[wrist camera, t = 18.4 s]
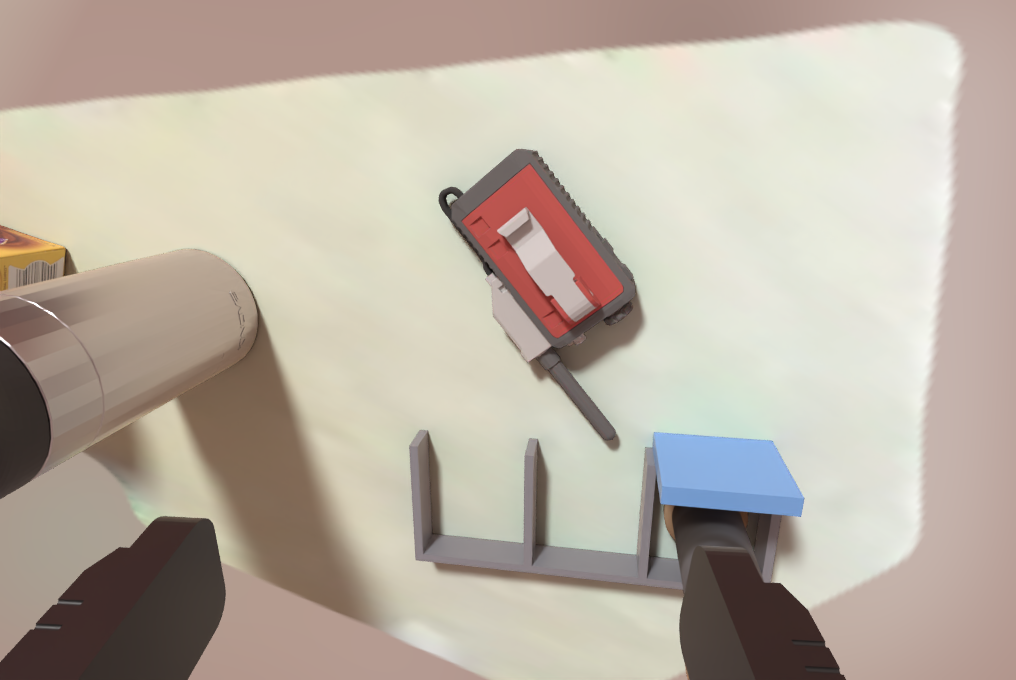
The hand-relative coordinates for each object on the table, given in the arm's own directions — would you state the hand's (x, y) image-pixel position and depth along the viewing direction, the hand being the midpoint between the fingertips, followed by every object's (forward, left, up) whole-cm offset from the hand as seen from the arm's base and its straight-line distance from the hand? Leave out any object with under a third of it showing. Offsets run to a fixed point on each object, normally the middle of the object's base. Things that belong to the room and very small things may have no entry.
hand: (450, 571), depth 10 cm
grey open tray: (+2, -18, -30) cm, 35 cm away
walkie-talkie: (0, -2, -31) cm, 31 cm away
